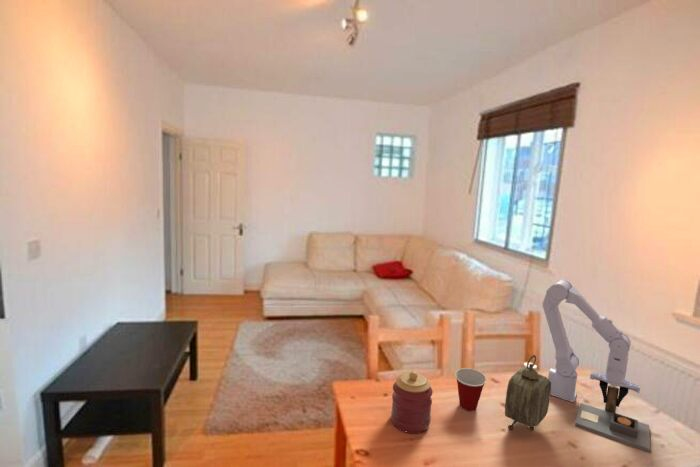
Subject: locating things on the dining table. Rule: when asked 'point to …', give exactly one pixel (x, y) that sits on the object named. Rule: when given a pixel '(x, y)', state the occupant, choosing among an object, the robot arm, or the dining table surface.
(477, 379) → the plastic cup
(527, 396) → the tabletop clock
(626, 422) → the breaker button
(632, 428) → the switch panel
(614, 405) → the brown cylinder
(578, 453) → the dining table surface
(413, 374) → the canister
